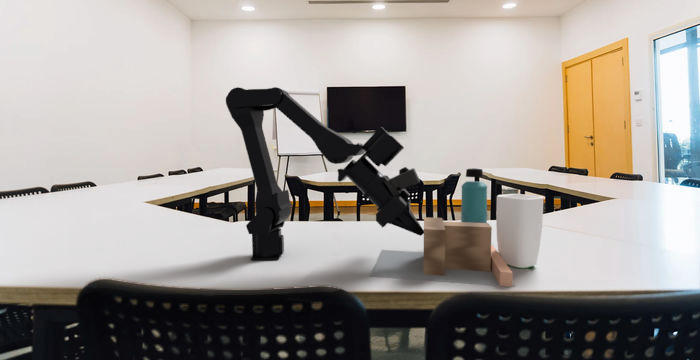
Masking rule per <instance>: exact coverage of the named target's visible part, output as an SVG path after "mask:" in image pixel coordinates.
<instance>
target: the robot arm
mask: <svg viewBox="0 0 700 360" xmlns="http://www.w3.org/2000/svg"><path fill="white" fill-rule="evenodd" d="M225 104H226V107H227V109H228V112H229V114H230V116H231V118H232V119H233V121H234V122H235V124H236V125H237V126H238V128H239V129H240V131H241V134H242V137H243V141H244V146H245V150H246V153H247V157H248V161H249V164H250V168H251V171H252V172H251V173H252V175H253V180H254V183H255V186H256V194H255V200H254V207H255V215H254V216H253V218H252V219H251V220H249V222H248V223H247V224H246V225H245V226H246V230H247V232H248V235H251V242H252V245H251V247H252V248H251V249H252V255H251V257H250V261H265V260H266V261H269V260H270V261H272V260H280V258H281V257H282V255H283V254H284V252H285V236H284V235H283V234H282V228H283V227H284V225H285V223H286V221H287V220H288V219H289V218H290V216H291V214H292V207H293V203H292V202H291V199H290V193H289V190H288V189H285V190H282V188H280V186H279V185H278V183H277V178H276V174H275V172H274V167H273V163H272V159H271V156H270V152H269V148H268V145H267V141H266V137H265V133H264V130H263V121H264V116H265V114H264V112H266V111H271V110H274V109H277V110H278V111H280V113H282V114H283V115H284V116H285V117H286V118H288V119H289V120H290V121H291V122H293V124H294V125H295V126H297V127H298V128H299V129H300V130H301V131H303V132H304V133H305V134H306V135H307V136H308V137H309V138H310V139H311V140H312V141H313V142H314V145H315V146H316V148H317V149H318V150H319V152H320V153H321V154H322V156H323V157H324V158H325V159H326V161H327V162H329V163H331V164H334V165H337V164H339V165H340V164H346V163H348V162H349V163H348V164H346V166H344V168H338V169H337V182H342V181H343V182H344V181H345V180H346V179H347V178H348V179H349V181H351V182H352V183H353V184H354V186H356V187H357V188H358V189H359V190H360V191H361V192H362V194H363V195H362V197H363V198H365V200H367V199H369V201H371V202H372V203H373V205H375V206H376V210H377V212H376V214H375V221H376V223H377V224H378V225H380V227H381V228H385V227H386V226H387V225H393V226H395V227H398V228H401V229H403V230H405V231H408V232H411V233H413V234H415V235H417V236H424V228H423V227H422V226H421V224H420V223H419V221H418V220H417V218H416V216H415V215H414V212H413V211H412V210H411V199H410V198H409V197H410V195H411V194H410V193H409V191H408V190H407V188H408V187H411V186H416V185H418V184H419V183H420V182H421V180H420V178H419V176H418V173H417V171H416V169H415V167H414V168H413V167H412V168H410V169H409V168H408V167H407V166H405V167H402V168H400V169H399V170H398V173H399V174H398V175H396V176H394V177H391V178H390V177H389V176H388V175H385V174H382V173H381V172H380V171H379V170H378V169H377V168H376V166H377V167H378V168H379V167H380V166H381V165H383V166H384V167H387V165H389V164H390V163H391V162H392V161H393V160H394V159H395V158H396V157H397V156H398V155H399V154H400V152H402V150H404V148H405V147H404V146H403V145H402V143H400V142H399V141H398V139H396V137H394V136H393V135H391V134H390V133H389V132H388V131H387V130H386V129H385V128H384V127H382V126H379V127H377V129H376V130H374V133H373V134H372V135H371V137H369V138H368V139H367V140H366V142H364V144H363V143H361V142H357V143H353V141H352V140H351V139H349V138H347V137H345V136H343V135H342V134H340V133H339V132H337V131H335V130H333V129H331V128H329V127H328V126H326V125H325V124H323V123H322V122H321V121H320V120H318V118H316V117H315V116H314V115H313V114H312V113H310V111H308V110H307V109H306V108H305V107H304V106H302V104H300V103H299V102H297V100H296V99H294V98H293V97H292V96H291V95H290V94H289V92H288V91H286V90H285V89H282V88H279V87H278V86H277V87H270V88H269V87H268V88H254V89H253V88H252V89H251V88H250V89H249V88H248V89H246V88H242V87H239V86H238V87H237V86H236V87H233V88H232V89H230V91H229V92H228V93H227V96H226V97H225ZM361 155H362V156H361ZM357 156H360V157H359V158H358V159H357V160H355V159H353V157H357ZM367 158H368V159H369V160H368V159H367ZM370 161H371V162H370ZM372 163H373V164H374V165H375V166H374V165H373V164H372ZM407 198H408V200H407V201H405V200H406V199H407Z"/></svg>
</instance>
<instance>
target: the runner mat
mask: <svg viewBox="0 0 700 360" xmlns="http://www.w3.org/2000/svg"><path fill="white" fill-rule="evenodd" d="M423 265H424V251H412V250H411V251H409V250H393V249H392V250H390V249H381V250H380V252H379V255H378V257H377V259H376V262H375V264H374V266H373V268H372V270H371V273H370V274H369V277H373V278H387V279H388V278H389V279H390V278H391V279H402V280H414V281H415V280H416V281H417V280H418V281H428V282H430V281H431V282H440V283H441V282H443V283H445V282H446V283H455V284H456V283H458V284H469V285H470V284H471V285H481V286H482V285H484V286H485V285H486V286H498V287H510V288H511V287H514V288H515V287H516V285H515V284H514V282H513V271H512V270H511V268H510V266H509V265H507V264H506V263H505V261H504V260H503V259H502V257H501V256H500V255H499V253H498V249H496V248H495V246H494V245H492V244H491V270H490V272H485V271H470V270H455V269H445V276H441V275H426V274H423Z"/></svg>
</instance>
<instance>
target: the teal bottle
mask: <svg viewBox="0 0 700 360" xmlns="http://www.w3.org/2000/svg"><path fill="white" fill-rule="evenodd" d="M465 177H466V178H483V177H484V174H483V168H473V167H472V168H467V169H466V171H465ZM460 208H461V209H460V220H461V221H460V222H471V223H488V214H489V213H488V186H487V184H486V183H485V182H484V181H476V180H475V181H469V180H468V181H467V180H466V181H465V182H464V183H463V184H462V185H461V207H460Z"/></svg>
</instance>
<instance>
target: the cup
mask: <svg viewBox="0 0 700 360" xmlns="http://www.w3.org/2000/svg"><path fill="white" fill-rule="evenodd" d="M543 217H544V196H540V195H534V194H533V195H532V194H522V193H507V194H506V193H505V194H498V195H497V196H496V217H495V218H496V225H495V226H496V243H497V252H498V253H499V255H500V256H501V257H502V259H503V260H504V261H505V263H506V264H507V266H508V267H513V268H515V269H526V268H527V269H529V268H532V267H534V266H536V265H537V263H538V258H539V252H540V247H541V239H542V232H543V230H542V229H543V220H544V219H543Z"/></svg>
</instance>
